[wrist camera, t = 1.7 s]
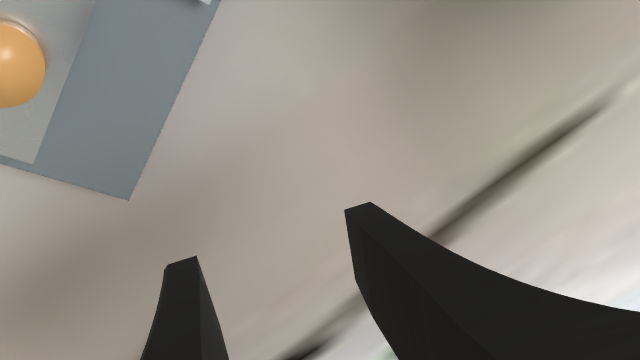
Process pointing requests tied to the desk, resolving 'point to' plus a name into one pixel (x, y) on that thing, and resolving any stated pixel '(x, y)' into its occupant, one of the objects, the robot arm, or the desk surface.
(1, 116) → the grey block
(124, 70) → the hole board
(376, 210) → the robot arm
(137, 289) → the desk surface
